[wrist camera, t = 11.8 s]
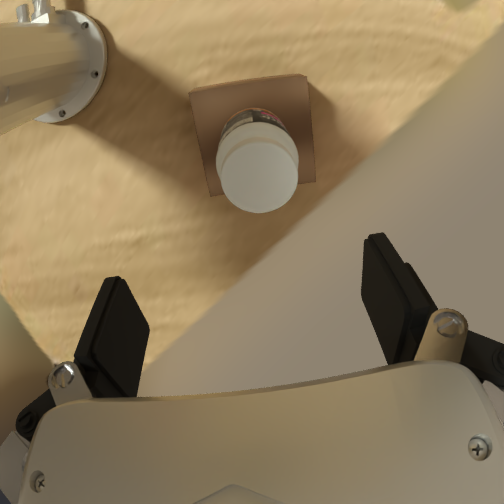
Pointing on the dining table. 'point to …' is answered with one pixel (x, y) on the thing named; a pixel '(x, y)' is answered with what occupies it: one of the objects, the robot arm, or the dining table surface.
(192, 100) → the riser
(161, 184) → the dining table surface
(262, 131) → the pill bottle
